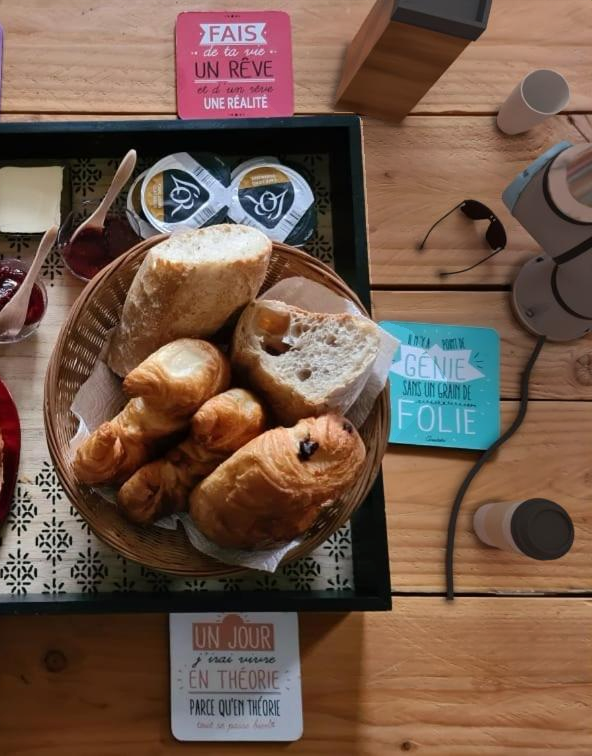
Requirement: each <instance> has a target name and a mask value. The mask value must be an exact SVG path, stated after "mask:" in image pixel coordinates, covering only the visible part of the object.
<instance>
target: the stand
mask: <svg viewBox="0 0 592 756" xmlns="http://www.w3.org/2000/svg"><path fill="white" fill-rule="evenodd" d="M393 4H394V0H375V2H374V4H373V6H372V7H371V8H370V11H369V13H368V14H367V15H366V17H365V19H364V21H363V22H362V24H361V26H360V27H359V29H358V30H357V32H356V34H355V36H354V37H353V39H352V40H351V42H350V44H349V45H348V47H347V50H346V54H345V59H344V63H343V67H342V71H341V75H340V79H339V83H338V88H337V91H336V96H335V99H334V103H333V108H335V109H338V110H343V111H346V112H349V113H350V112H351V113H353V114H358V115H361V116H366V117H369V118H374V119H376V120H380V121H385V122H389V123H391V124H392V123H393V124H396V125H400V124H401V123H402V122H403V121H404V120H405V119H406V118H407V116H408V115H409V114H410V112H412V111H413V109H415V107H416V106H417V105H418V104H419V103H420V101H421V100H422V99H423V98H424V97H425V96H426V95H427V93H428V92H429V91H430V90H431V89H432V88H433V86H434V85H435V84H436V83H437V82H438V81H439V80H440V79H441V77H442V76H443V75H444V74H445V73H446V72H447V70H448V69H449V68H450V67H451V66H452V65H453V64H454V62H455V61H456V60H457V59H458V58H459V57H460V56H461V55H462V53H463V52H464V51H465V50H466V49H467V48H468V47H469V45H471V43H472V42H473V41H470V40H466V39H462V38H458V37H454V36H450V35H446V34H443V33H439V32H435V31H431V30H427V29H423V28H419V27H415V26H411V25H407V24H403V23H399V22H396V21H392V20H390V16H391V12H392V8H393Z"/></svg>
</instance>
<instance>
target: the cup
mask: <svg viewBox="0 0 592 756" xmlns="http://www.w3.org/2000/svg"><path fill="white" fill-rule="evenodd" d="M570 100H571V87H570V84H569V83H568V81H567V79H566V77H564V76H563V75H562V74H561V73H560V72H558V71H556V70H553V69H551V68H546V67H545V68H544V67H543V68H542V67H541V68H536V69H534V70H531V71H529V72H528V74H526V75H525V76H524V77H523V79H521V80H520V81H519V82H518V84H517V85H516V86H515V87H514V88H513V89H512V91H510V93H509V95H508V96H507V98H506V99H505V100H504V101H503V103H502V105H501V107H500V109H499V112H498V114H497V116H496V125H497V126H498V129H500V131H502V132H503V133H504V134H507V135H517V134H521V133H524V132H527V131H530V130H532V129H533V128H536V127H537V126H539V125H541V124H543V123H545V122H546V121H548V120H550V119H551V118H553V117H554V116H555V115H557V114H558V113H560V112H561V111H563V110H564V109H565V108H566V107H567V106H568V104H569V102H570Z"/></svg>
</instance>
